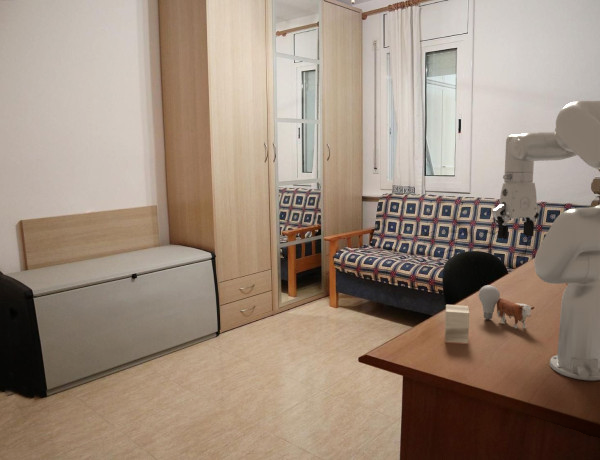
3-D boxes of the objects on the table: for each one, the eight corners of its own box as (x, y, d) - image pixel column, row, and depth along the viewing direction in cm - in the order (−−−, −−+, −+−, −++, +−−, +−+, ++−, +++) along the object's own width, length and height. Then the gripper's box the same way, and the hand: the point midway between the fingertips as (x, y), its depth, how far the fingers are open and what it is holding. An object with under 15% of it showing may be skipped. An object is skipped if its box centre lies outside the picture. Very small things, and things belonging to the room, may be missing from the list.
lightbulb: (486, 324, 153) (488, 289, 151) (473, 317, 159) (474, 283, 157) (502, 321, 155) (504, 287, 153) (489, 315, 161) (491, 281, 159)
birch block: (467, 344, 139) (469, 313, 138) (445, 342, 141) (446, 311, 139) (466, 336, 145) (468, 305, 143) (444, 334, 146) (445, 304, 145)
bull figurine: (525, 335, 145) (527, 307, 143) (492, 320, 157) (493, 294, 156) (537, 333, 146) (539, 305, 145) (503, 318, 159) (505, 292, 157)
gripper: (505, 180, 138) (502, 241, 141) (551, 177, 145) (548, 236, 148) (485, 178, 145) (483, 237, 148) (530, 176, 152) (527, 232, 155)
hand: (515, 237), depth 148 cm, fingers open, 9 cm apart
